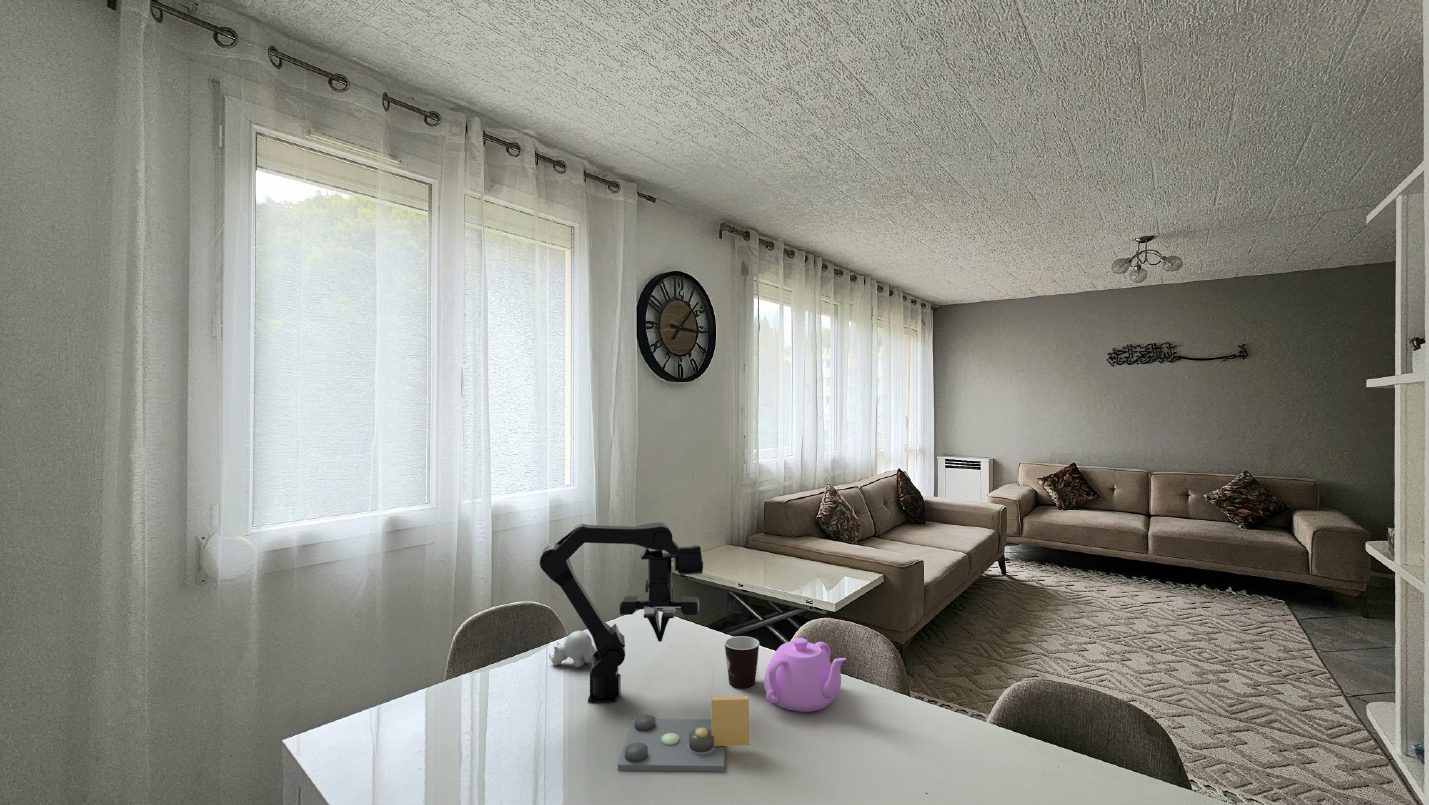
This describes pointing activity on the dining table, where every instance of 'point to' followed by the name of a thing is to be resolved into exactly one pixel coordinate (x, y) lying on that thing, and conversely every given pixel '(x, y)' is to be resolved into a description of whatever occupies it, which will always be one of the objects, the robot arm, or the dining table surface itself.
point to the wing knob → (723, 725)
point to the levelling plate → (667, 746)
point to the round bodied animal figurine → (574, 649)
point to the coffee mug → (742, 661)
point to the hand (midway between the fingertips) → (660, 641)
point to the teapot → (802, 676)
